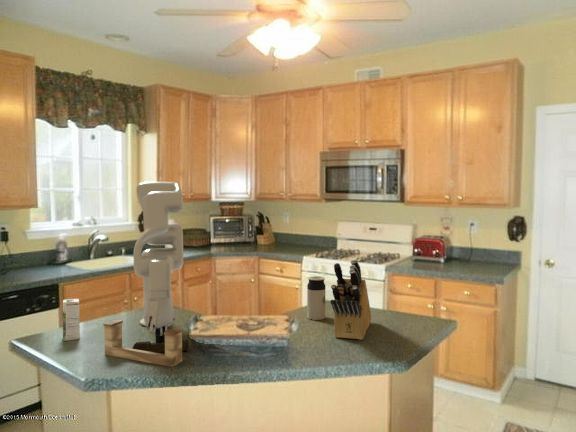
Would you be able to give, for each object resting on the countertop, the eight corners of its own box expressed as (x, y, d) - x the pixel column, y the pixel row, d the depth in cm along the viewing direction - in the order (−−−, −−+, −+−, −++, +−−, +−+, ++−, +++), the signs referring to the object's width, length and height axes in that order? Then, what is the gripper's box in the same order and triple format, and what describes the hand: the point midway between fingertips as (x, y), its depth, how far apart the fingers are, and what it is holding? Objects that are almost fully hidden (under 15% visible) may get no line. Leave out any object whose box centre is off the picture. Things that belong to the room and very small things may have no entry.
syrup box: (62, 337, 173) (61, 299, 172) (79, 334, 176) (78, 297, 175) (63, 341, 168) (62, 302, 167) (80, 339, 171) (79, 301, 170)
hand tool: (188, 349, 161) (188, 336, 161) (188, 353, 157) (188, 339, 157) (132, 353, 157) (132, 340, 156) (131, 357, 153) (131, 344, 153)
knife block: (327, 346, 163) (328, 261, 162) (345, 319, 197) (346, 249, 195) (359, 349, 160) (359, 262, 158) (371, 322, 194) (372, 250, 192)
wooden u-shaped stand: (115, 349, 159) (115, 319, 158) (183, 361, 148) (182, 328, 148) (104, 354, 154) (103, 323, 153) (173, 367, 143) (172, 333, 143)
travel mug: (303, 318, 199) (303, 278, 198) (313, 314, 205) (313, 275, 204) (318, 321, 194) (319, 280, 193) (328, 317, 201) (328, 277, 200)
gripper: (164, 289, 167) (165, 337, 168) (137, 297, 153) (137, 350, 154) (181, 290, 164) (182, 340, 165) (155, 299, 150) (155, 353, 151)
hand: (160, 345), depth 160 cm, fingers closed
